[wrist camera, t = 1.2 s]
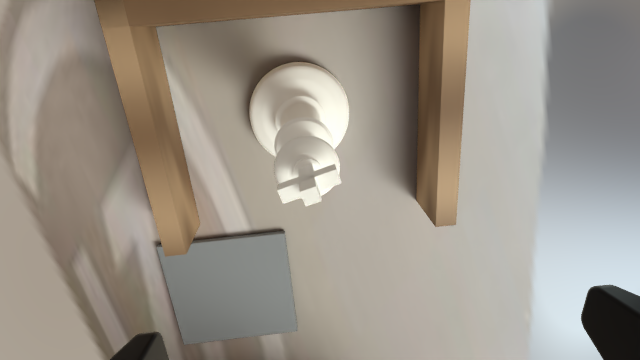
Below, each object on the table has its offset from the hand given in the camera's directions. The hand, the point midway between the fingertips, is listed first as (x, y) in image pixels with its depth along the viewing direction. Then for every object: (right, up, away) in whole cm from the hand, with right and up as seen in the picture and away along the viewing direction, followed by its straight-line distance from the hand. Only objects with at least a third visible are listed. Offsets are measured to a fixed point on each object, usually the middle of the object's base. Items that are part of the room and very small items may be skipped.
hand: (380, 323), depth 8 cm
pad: (-6, -3, +14) cm, 16 cm away
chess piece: (-2, +6, +11) cm, 13 cm away
